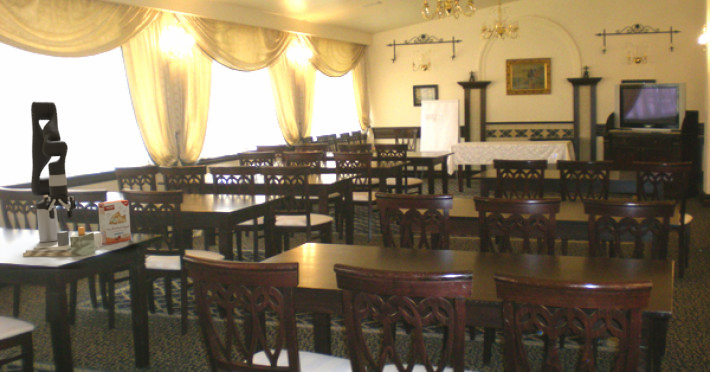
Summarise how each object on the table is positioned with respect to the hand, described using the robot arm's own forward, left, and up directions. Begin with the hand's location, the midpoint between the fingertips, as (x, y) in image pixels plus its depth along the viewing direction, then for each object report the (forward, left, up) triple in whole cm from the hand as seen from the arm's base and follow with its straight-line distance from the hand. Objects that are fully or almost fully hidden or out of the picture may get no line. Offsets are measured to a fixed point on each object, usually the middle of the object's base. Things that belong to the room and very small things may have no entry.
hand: (61, 218), depth 300 cm
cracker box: (-26, +13, -17) cm, 33 cm away
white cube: (-16, +7, -17) cm, 24 cm away
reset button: (0, +10, -9) cm, 13 cm away
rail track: (0, -2, -17) cm, 17 cm away
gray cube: (0, 0, -14) cm, 14 cm away
